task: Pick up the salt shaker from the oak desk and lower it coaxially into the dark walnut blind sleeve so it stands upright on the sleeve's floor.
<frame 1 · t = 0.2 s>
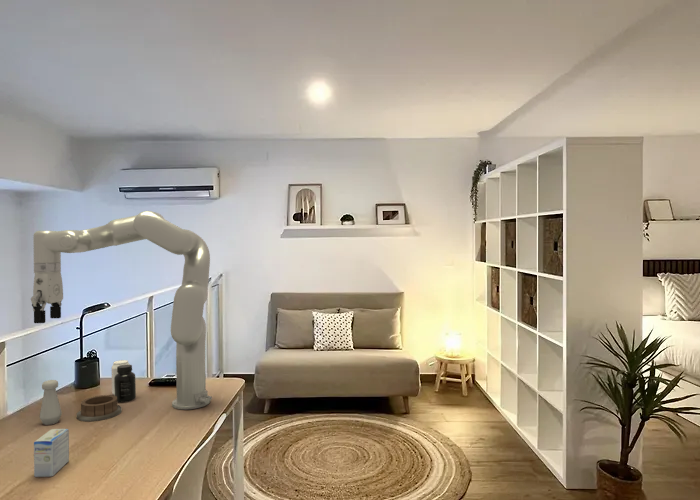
hand: (47, 320, 158), 30 cm above the table, tool pointing down, fingers open, 9 cm apart
medicine box: (52, 470, 119), on the table
walnut sleeve: (99, 414, 157), on the table
supplement bottle: (125, 400, 171), on the table
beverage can: (121, 394, 177), on the table
salt shaker: (51, 423, 150), on the table
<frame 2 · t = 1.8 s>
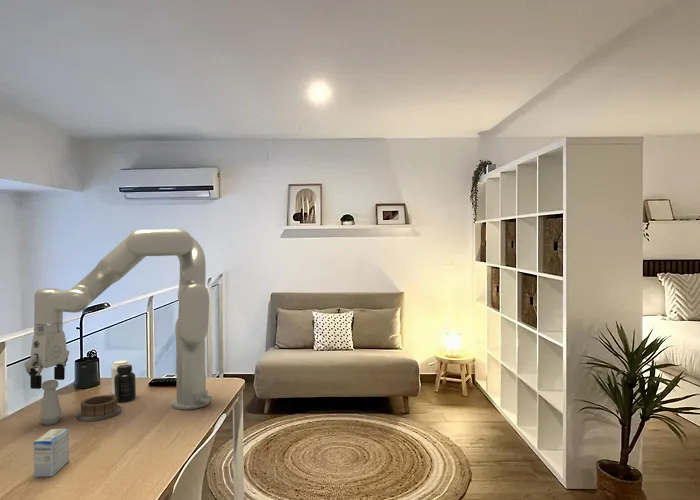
hand: (48, 383, 149), 12 cm above the table, tool pointing down, fingers open, 9 cm apart
nothing on the table moved.
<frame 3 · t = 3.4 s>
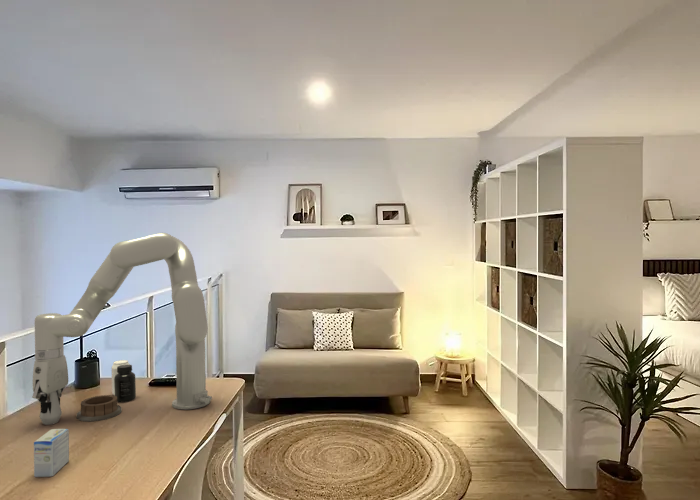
hand: (50, 412, 150), 3 cm above the table, tool pointing down, fingers closed on salt shaker, 3 cm apart
salt shaker: (51, 423, 150), on the table, touching gripper
everything else where it was.
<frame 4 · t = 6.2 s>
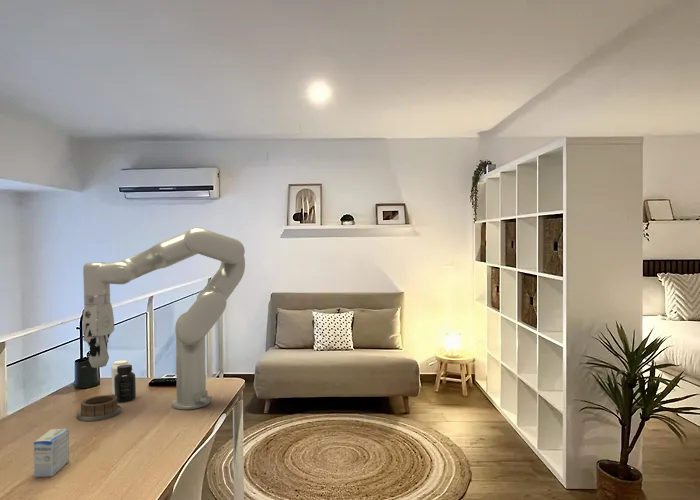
hand: (98, 356, 156), 19 cm above the table, tool pointing down, fingers closed on salt shaker, 3 cm apart
salt shaker: (99, 366, 156), point 15 cm above the table, touching gripper
everything else where it was.
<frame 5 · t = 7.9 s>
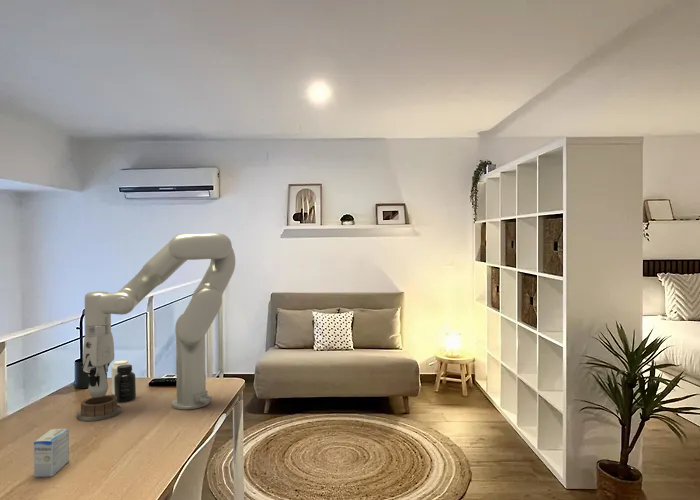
hand: (98, 385, 156), 9 cm above the table, tool pointing down, fingers closed on salt shaker, 3 cm apart
salt shaker: (98, 396, 157), point 6 cm above the table, touching gripper
everything else where it was.
when the fingers open (5 cm above the table, at t = 9.3 s): salt shaker stays where it is, resting on walnut sleeve.
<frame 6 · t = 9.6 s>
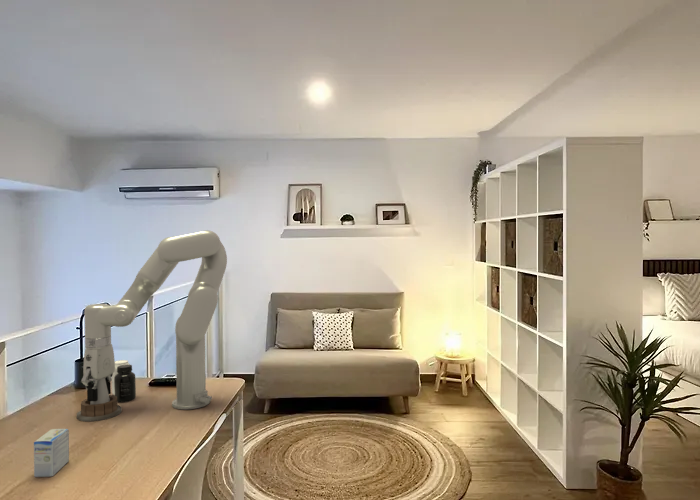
hand: (99, 397, 157), 6 cm above the table, tool pointing down, fingers open, 6 cm apart
salt shaker: (100, 411, 157), point 1 cm above the table, touching walnut sleeve
everything else where it was.
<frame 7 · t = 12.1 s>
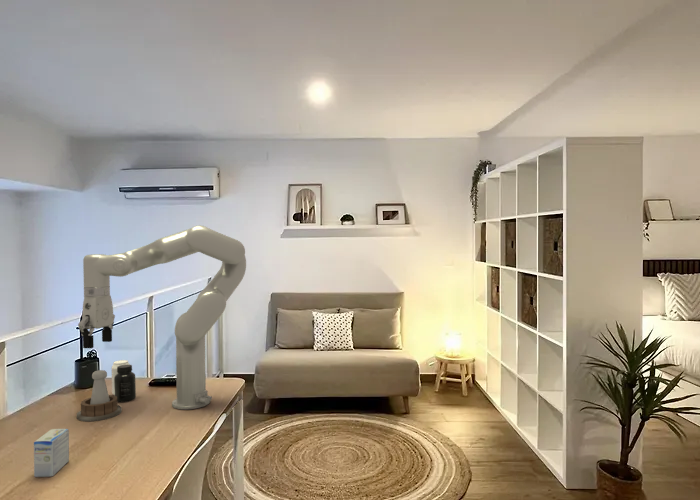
hand: (98, 344, 157), 23 cm above the table, tool pointing down, fingers open, 9 cm apart
nothing on the table moved.
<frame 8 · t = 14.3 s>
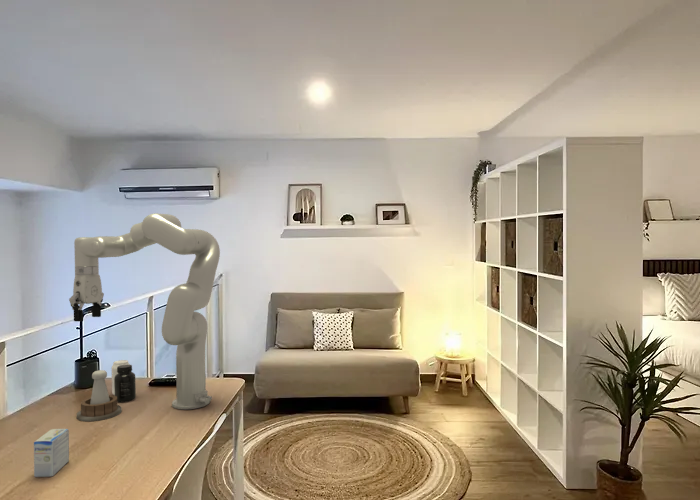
hand: (87, 318, 173), 28 cm above the table, tool pointing down, fingers open, 9 cm apart
nothing on the table moved.
at the end: salt shaker 0.2 cm off-centre on the walnut sleeve, point 0.8 cm above the walnut sleeve's base; salt shaker tilted 0°; the gripper is holding nothing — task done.
